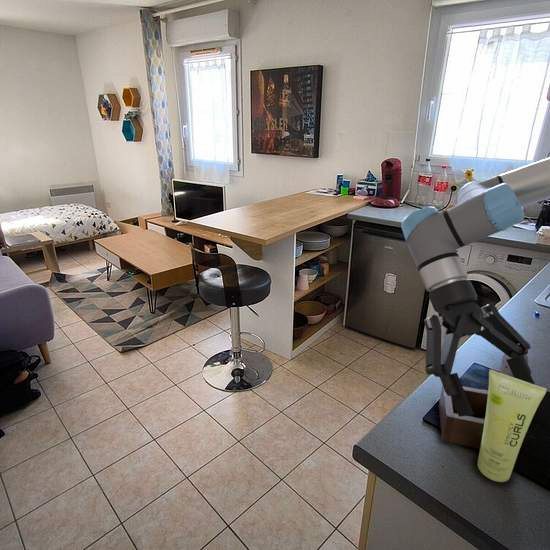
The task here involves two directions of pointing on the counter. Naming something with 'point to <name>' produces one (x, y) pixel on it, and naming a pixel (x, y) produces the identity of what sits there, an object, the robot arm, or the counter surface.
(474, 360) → the counter surface
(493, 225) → the robot arm
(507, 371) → the perforated stone tool
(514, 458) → the tube
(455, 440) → the frame
